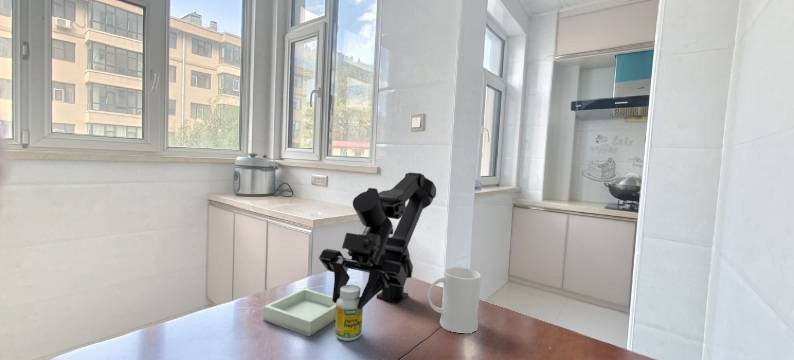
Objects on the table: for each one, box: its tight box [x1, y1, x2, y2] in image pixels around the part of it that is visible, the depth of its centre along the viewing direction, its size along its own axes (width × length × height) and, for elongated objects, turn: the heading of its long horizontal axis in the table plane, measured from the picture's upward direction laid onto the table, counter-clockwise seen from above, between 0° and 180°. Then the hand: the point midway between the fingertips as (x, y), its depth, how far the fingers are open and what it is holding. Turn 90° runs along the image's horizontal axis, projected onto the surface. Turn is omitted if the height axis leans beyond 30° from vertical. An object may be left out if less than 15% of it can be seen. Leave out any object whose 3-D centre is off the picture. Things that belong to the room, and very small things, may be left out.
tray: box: [263, 287, 336, 337], centre depth 75 cm, size 13×13×3 cm
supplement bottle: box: [334, 284, 364, 342], centre depth 68 cm, size 5×5×10 cm
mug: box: [427, 266, 482, 334], centre depth 76 cm, size 12×8×12 cm
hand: (346, 305), depth 67 cm, fingers closed on supplement bottle, 5 cm apart
